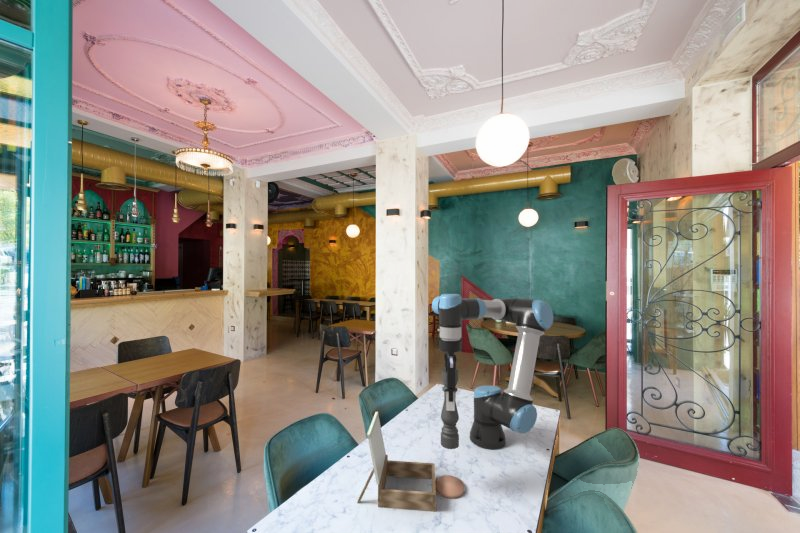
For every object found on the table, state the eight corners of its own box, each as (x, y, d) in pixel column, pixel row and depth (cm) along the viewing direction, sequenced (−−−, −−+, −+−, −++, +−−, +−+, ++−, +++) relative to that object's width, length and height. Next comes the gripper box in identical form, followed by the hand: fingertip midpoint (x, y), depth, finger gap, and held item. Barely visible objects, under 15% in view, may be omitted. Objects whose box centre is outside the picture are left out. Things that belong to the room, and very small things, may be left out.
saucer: (462, 479, 109) (462, 476, 110) (466, 499, 100) (466, 496, 100) (434, 477, 110) (434, 474, 110) (435, 497, 100) (435, 493, 100)
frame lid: (386, 454, 112) (386, 411, 113) (379, 485, 96) (379, 434, 96) (374, 453, 113) (375, 411, 113) (366, 484, 96) (366, 434, 97)
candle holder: (438, 439, 108) (439, 368, 109) (456, 439, 109) (456, 367, 110) (442, 449, 102) (443, 373, 103) (461, 448, 103) (461, 373, 103)
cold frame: (434, 477, 110) (434, 443, 111) (435, 512, 94) (436, 471, 95) (366, 473, 112) (366, 439, 113) (356, 505, 97) (357, 466, 97)
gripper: (438, 333, 116) (438, 395, 115) (440, 344, 98) (440, 418, 97) (458, 333, 115) (458, 396, 115) (464, 344, 97) (464, 419, 96)
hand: (449, 406), depth 106 cm, fingers closed on candle holder, 5 cm apart
